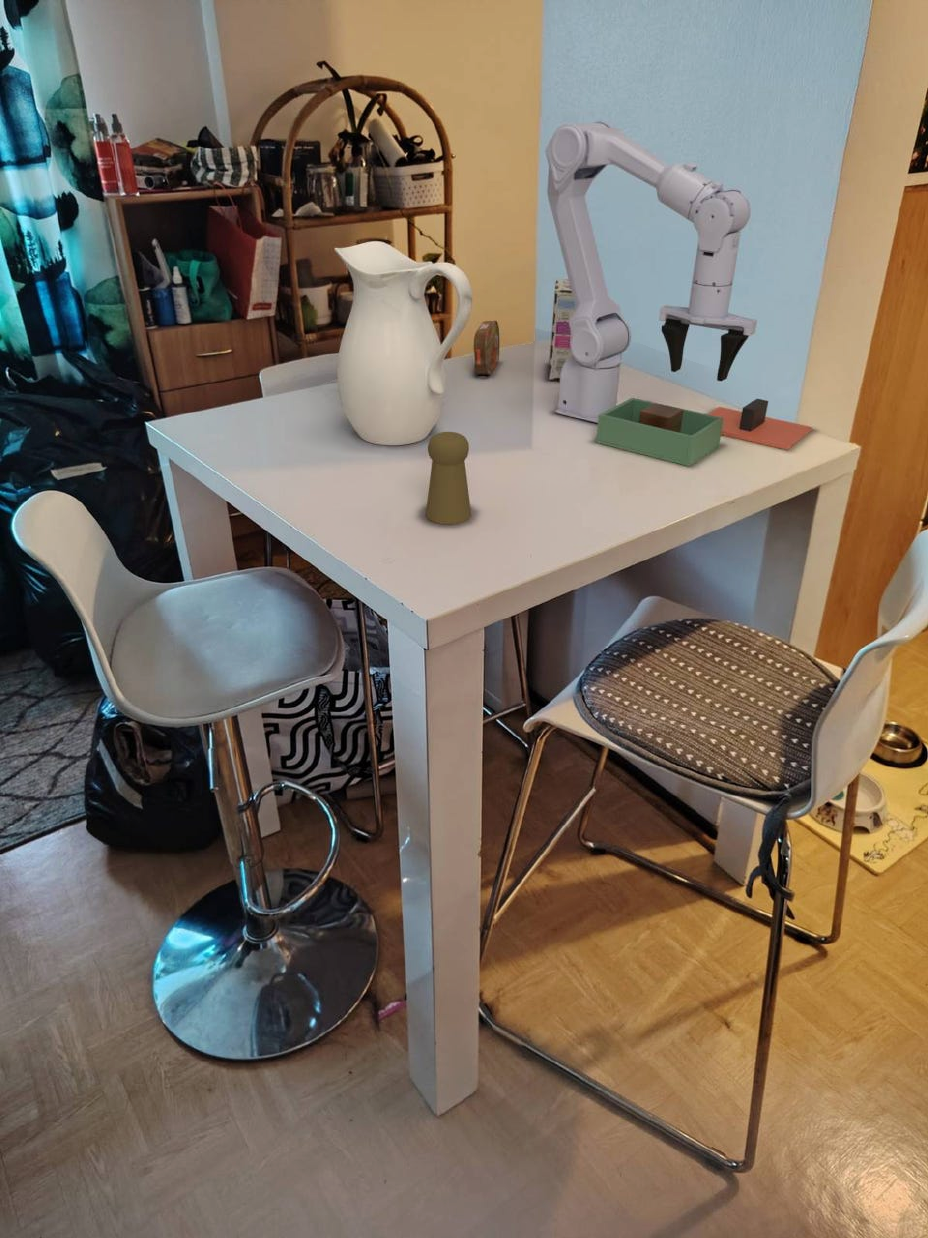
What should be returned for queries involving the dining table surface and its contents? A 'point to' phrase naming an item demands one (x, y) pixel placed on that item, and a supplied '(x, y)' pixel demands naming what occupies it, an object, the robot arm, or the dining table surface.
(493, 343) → the tin
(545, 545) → the dining table surface
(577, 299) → the robot arm
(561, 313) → the candy bar box
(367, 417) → the pitcher
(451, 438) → the olive pawn figure
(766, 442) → the lunchbox lid
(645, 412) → the walnut block
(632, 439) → the box
